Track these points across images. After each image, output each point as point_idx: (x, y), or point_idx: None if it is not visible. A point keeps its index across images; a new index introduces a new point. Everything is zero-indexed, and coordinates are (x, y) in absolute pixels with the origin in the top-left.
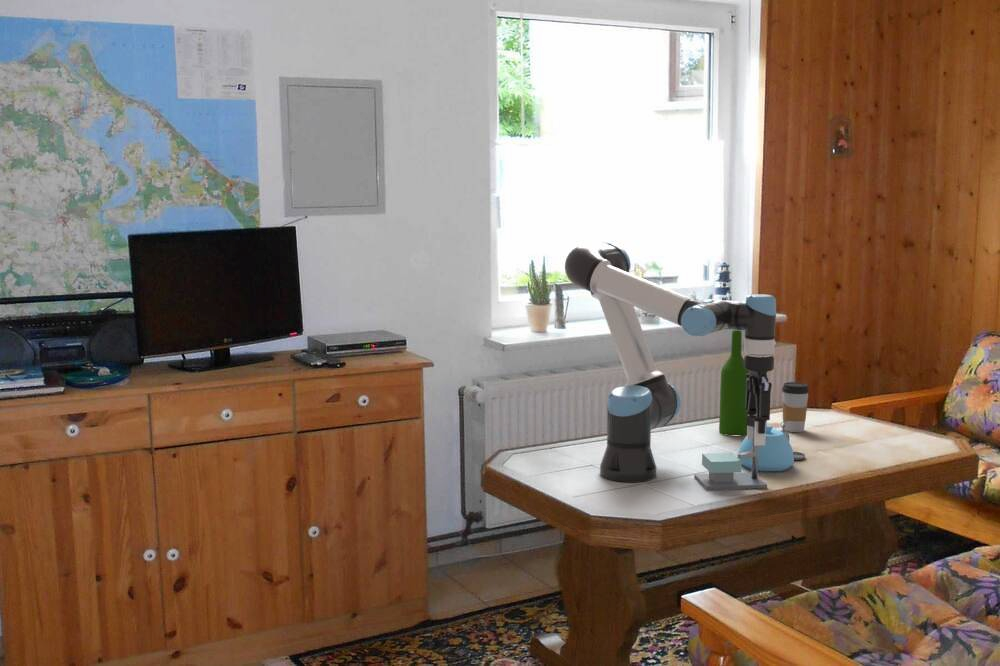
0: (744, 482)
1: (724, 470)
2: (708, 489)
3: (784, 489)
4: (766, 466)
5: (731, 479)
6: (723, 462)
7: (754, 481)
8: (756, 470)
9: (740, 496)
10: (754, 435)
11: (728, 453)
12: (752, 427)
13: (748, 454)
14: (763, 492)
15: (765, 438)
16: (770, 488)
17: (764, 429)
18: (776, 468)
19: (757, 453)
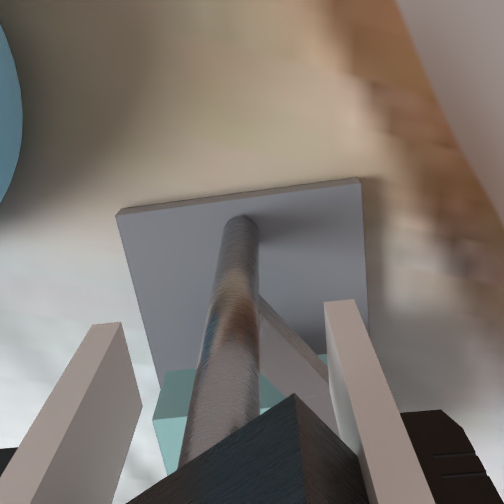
0: (318, 295)
1: None
2: None
3: (379, 77)
4: (20, 120)
5: None
6: None
7: (298, 241)
8: (256, 244)
9: (477, 331)
10: None
11: (173, 440)
12: (94, 472)
13: (323, 374)
14: (425, 212)
15: (368, 339)
16: (355, 158)
17: (475, 461)
18: (8, 45)
19: (256, 295)
